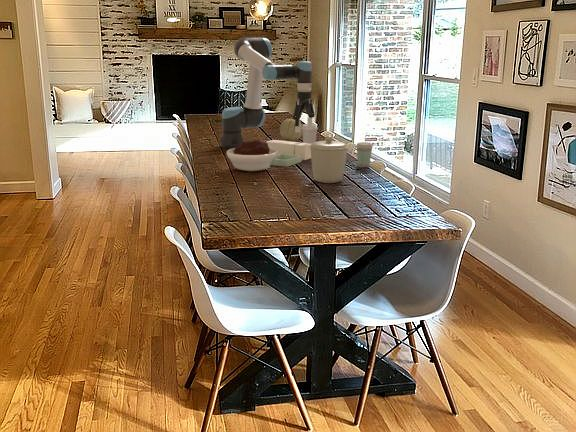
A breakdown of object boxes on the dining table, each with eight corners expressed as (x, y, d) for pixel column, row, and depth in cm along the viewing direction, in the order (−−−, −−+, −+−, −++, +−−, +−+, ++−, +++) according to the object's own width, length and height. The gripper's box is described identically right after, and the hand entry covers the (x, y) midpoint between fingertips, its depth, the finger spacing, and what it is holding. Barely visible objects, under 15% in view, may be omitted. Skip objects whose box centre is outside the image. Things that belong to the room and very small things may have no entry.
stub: (294, 159, 342) (295, 144, 340) (302, 157, 349) (302, 142, 347) (304, 160, 339) (304, 145, 337) (311, 158, 346) (311, 143, 344)
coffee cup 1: (315, 152, 364) (316, 126, 360) (299, 151, 366) (300, 125, 362) (318, 149, 373) (318, 124, 369) (302, 148, 375) (303, 123, 371)
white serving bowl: (238, 176, 297) (238, 145, 293) (219, 167, 318) (218, 138, 314) (285, 172, 308) (285, 141, 304) (263, 163, 330) (263, 135, 325)
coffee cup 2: (373, 165, 326) (374, 142, 323) (369, 168, 319) (371, 145, 315) (357, 164, 329) (358, 141, 326) (353, 167, 321) (354, 144, 318)
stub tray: (266, 164, 328) (266, 158, 327) (281, 159, 341) (281, 153, 340) (286, 166, 322) (286, 160, 321) (301, 161, 335) (301, 156, 334)
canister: (336, 187, 278) (337, 139, 272) (301, 182, 287) (301, 136, 281) (354, 180, 292) (355, 134, 287) (320, 175, 302) (321, 131, 296)
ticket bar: (265, 155, 351) (265, 141, 349) (273, 153, 358) (273, 139, 356) (293, 159, 343) (293, 144, 340) (300, 156, 349) (300, 142, 347)
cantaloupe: (276, 142, 398) (276, 118, 394) (284, 139, 412) (285, 116, 407) (297, 143, 393) (298, 119, 389) (306, 140, 406) (306, 117, 402)
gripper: (299, 92, 322) (298, 134, 328) (321, 90, 343) (320, 128, 349) (286, 92, 326) (286, 133, 331) (309, 89, 347) (308, 127, 352)
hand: (303, 130), depth 340 cm, fingers open, 13 cm apart
